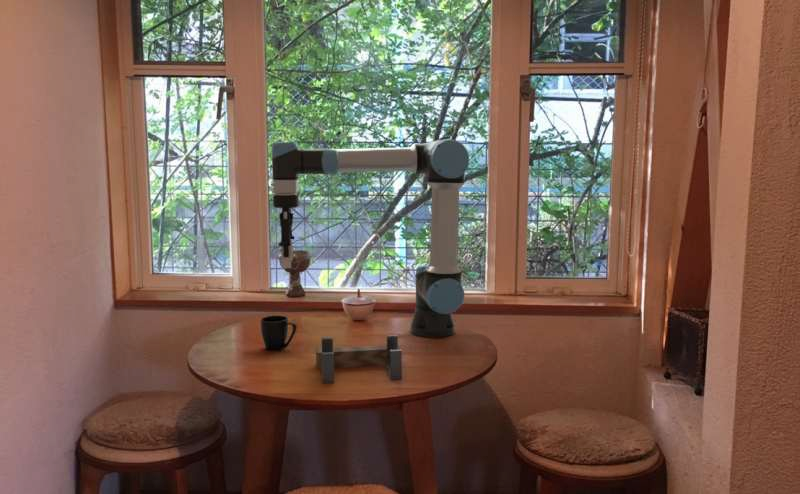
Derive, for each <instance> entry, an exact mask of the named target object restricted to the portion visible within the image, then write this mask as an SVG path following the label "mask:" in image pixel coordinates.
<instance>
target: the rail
mask: <svg viewBox="0 0 800 494" xmlns="http://www.w3.org/2000/svg"><path fill="white" fill-rule="evenodd" d="M399 349H401V347H400V346H399V344H398V350H399ZM333 352H334V369H340V368H342V369H344V368H358V367H359V368H362V367H377V366H380V367H381V366H387V344H385V345H384V344H382V345H366V346H365V345H363V346H345V347H333ZM315 366H316V370H322V347H320V348H315Z"/></svg>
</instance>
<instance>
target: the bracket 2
mask: <svg viewBox="0 0 800 494" xmlns="http://www.w3.org/2000/svg"><path fill="white" fill-rule="evenodd" d="M386 345H387V365H386V372H387V374H388V377H389V380H390V381H396V380H398V381H401V380H402V379H403V377H402V372H403V369H402V366H403V365H402V364H403V361H402V358H403V356H402V355H403V353H402V352H403V351H402V348H400V349H399V350H398V345H399V335H398V334H387V335H386Z"/></svg>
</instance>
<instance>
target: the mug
mask: <svg viewBox="0 0 800 494" xmlns="http://www.w3.org/2000/svg"><path fill="white" fill-rule="evenodd" d="M289 326H292V331H291V334H290V337H289V338H288V340H287V337H288V331H289ZM297 327H298V326H297V324H296V323H295V322H289V318H288V317H287V316H284V315H268V316H265V317H262V318H261V319H260V330H261V337H262V341H263V343H264V345H265V349H266V350H267V351H269V352H270V351H271V352H278V351H281V350H284V349H286V348H288V346H289V345H290V343H291V342H292V341H293V338H294V337H295V334H296V331H297Z"/></svg>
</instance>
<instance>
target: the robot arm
mask: <svg viewBox="0 0 800 494" xmlns="http://www.w3.org/2000/svg"><path fill="white" fill-rule="evenodd" d="M271 147H272V148H271V150H272V151H271V154H272V155H271V165H272V166H271V167H272V168H271V169H272V182H270V186H271V187H272V189H273V190H272V192H273V194H274V195H273V196H272V197H273V198H272V199H273V200H272V205H273V207H274V208H277V209H281V212H280V213H279V221H280V223H279V224H280V232H281V233H280V235H281V236H280V237H281V238H280V242H278V247H281V249H280V251H281V268H282V269H292V261H293V260H294V258H293V257H294V255H293V249H294V248H293V240H295V236H294V235H293V229H292V228H293V224H294V223H293V220H294V213H293V212H292V211H293V210H292V209H294V208H298V207H299V206H300V203H299V202H300V201H299V199H300V197H299V195H298V193H299V189H300V188H299V183H300V182H299V175H327V176H328V175H336V174H337V173H370V172H372V173H373V172H374V173H375V172H404V171H405V172H411V173H412V174H415V175H416V174H418V175H419V174H422V175H427V176H426V177H427V179H426V184H427V185H428V186H429V187H430V188H431V207H430V208H431V209H430V210H431V211H430V213H431V214H430V239H429V240H430V242H429V243H430V244H429V245H430V246H429V248H430V249H429V264H427V265H419V266H418V267H416V270H415V310H414V314H413V317H412V320H411V322H410V333H411V334H412V335H416V336H419V337H423V338H424V337H425V338H443V337H449V336H452V335H453V334H455V329H456V328H455V322H454V320H453V316H452V314H453V313H454V312H456V311H457V310H458V309H459V308H461V306H462V305H463V302H464V301H465V290H464V288H463V285H462V269H461V268H460V267H459V265H458V243H459V242H458V239H459V238H458V237H459V216H460V215H459V213H460V212H459V211H460V208H459V207H460V189H461V188H463V186H464V185H465V182H466V181H465V180H466V171H467V170H468V168H469V164H470V154H469V152H468V149H467V148H466V146H465V145H464V144H463V143H461V142H460V141H458V140H456V139H452V138H443V139H439V140H435V141H430V142H426V143H425V142H424V143H416V144H415V143H413V144H411V146H408V147H374V148H372V147H369V148H299V146H298V143H297V142H296V141H275V142H274V143H273V144H272V146H271Z"/></svg>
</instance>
